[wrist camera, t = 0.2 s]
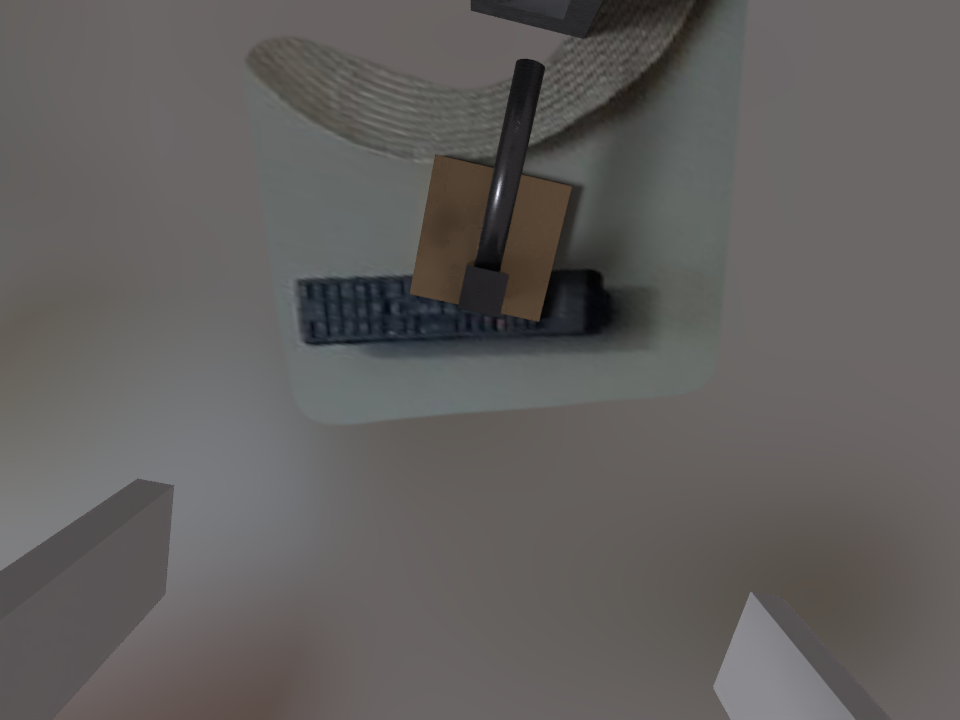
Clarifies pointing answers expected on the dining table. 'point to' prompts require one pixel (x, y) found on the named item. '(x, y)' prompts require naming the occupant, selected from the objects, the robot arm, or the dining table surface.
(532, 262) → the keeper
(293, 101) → the dining table surface
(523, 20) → the link
